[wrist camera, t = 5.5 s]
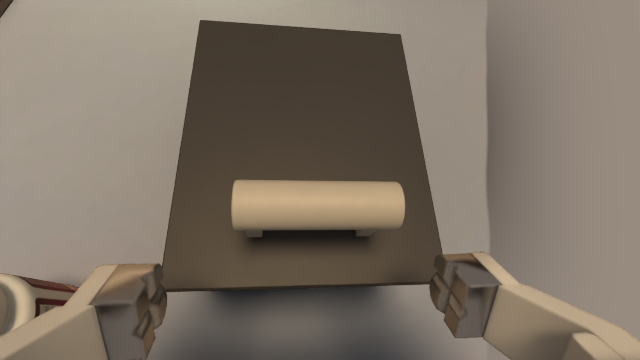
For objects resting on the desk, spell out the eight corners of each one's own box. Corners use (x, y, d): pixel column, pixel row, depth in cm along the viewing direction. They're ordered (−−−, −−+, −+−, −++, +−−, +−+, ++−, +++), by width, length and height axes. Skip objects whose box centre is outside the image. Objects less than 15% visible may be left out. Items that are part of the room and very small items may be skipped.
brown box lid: (440, 284, 15) (510, 267, 11) (163, 292, 14) (107, 276, 9) (396, 43, 22) (429, -33, 17) (202, 30, 20) (180, -58, 16)
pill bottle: (0, 318, 21) (-157, 316, 13) (74, 270, 23) (-29, 244, 15) (32, 382, 20) (-120, 419, 12) (108, 326, 22) (15, 328, 14)
